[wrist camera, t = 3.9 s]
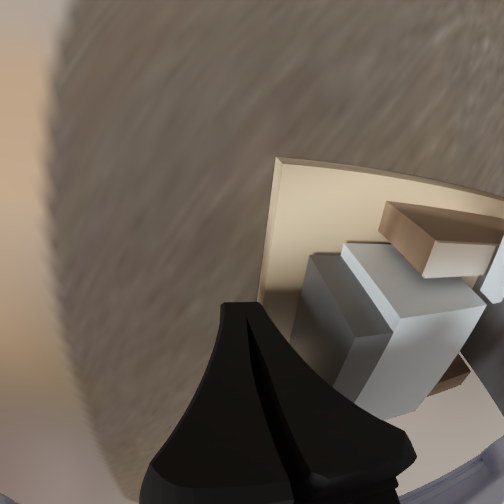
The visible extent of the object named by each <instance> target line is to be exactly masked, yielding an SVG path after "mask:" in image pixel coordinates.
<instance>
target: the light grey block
mask: <svg viewBox="0 0 504 504" xmlns="http://www.w3.org/2000/svg"><path fill="white" fill-rule="evenodd" d="M480 291H481V292H482V293H483V294H484V295H485V296H486V297H487V298H488V299H489V300H490V301H491V302H492V303H493V304H494V303H499V302H501V301H502V300H503V298H504V236H503V239H502V241H501V244H500V246H499V249H498V251H497V254H496V256H495V258H494V261H493V263H492V265H491V268H490V270H489V272H488V274H487V276H486V279H485V281H484V283H483V285H482V287H481V289H480ZM486 306H487V304H486V303H485V302H484V301H483V300H482V299H481V298H480V297H479V296H478V295H477V294H476V293H475V292H474V291H473V290H472V289H471V288H470V287H469V286H468V285H467V284H466V283H465V282H464V281H463V280H462V279H461V278H460V277H442V278H424V277H423V276H422V275H421V274H420V273H419V272H418V271H417V270H416V269H415V268H414V267H413V266H412V264H411V263H410V262H409V261H408V260H407V259H406V258H405V257H404V256H403V255H402V254H401V253H400V252H399V251H398V250H397V249H396V248H395V247H394V246H393V245H392V244H360V243H344V244H343V248H342V252H341V255H309V259H308V264H307V268H306V273H305V277H304V282H303V286H302V290H301V295H300V299H299V303H298V307H297V312H296V316H295V320H294V324H293V328H292V332H291V336H290V340H289V344H290V345H291V346H292V347H293V348H294V350H295V351H296V352H297V353H298V354H299V355H300V356H301V357H302V359H303V360H304V361H305V362H306V363H307V364H308V365H309V366H310V367H311V368H312V369H313V370H314V371H315V372H316V373H317V374H318V375H319V376H320V377H322V378H323V379H324V380H325V381H326V382H327V383H328V384H329V385H331V386H332V387H333V388H334V389H336V390H337V391H338V392H339V393H341V394H342V395H343V396H345V397H346V398H348V399H349V400H350V401H352V402H353V403H355V404H356V405H357V406H359V407H360V408H362V409H364V410H365V411H367V412H369V413H370V414H372V415H374V416H375V417H377V418H379V419H381V420H387V419H390V418H393V417H397V416H400V415H403V414H407V413H409V412H413V411H415V410H416V409H417V408H418V407H419V405H420V404H421V403H422V402H423V400H424V399H425V398H426V397H427V395H428V394H429V393H430V392H431V390H432V389H433V388H434V386H435V385H436V384H437V382H438V381H439V380H440V378H441V377H442V376H443V374H444V373H445V372H446V370H447V369H448V367H449V366H450V364H451V363H452V362H453V360H454V359H455V357H456V356H457V354H458V352H459V351H460V350H461V348H462V347H463V345H464V343H465V342H466V340H467V339H468V337H469V335H470V334H471V332H472V330H473V329H474V327H475V325H476V324H477V322H478V320H479V318H480V317H481V315H482V313H483V311H484V310H485V308H486Z"/></svg>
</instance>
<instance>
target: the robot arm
mask: <svg viewBox="0 0 504 504" xmlns="http://www.w3.org/2000/svg"><path fill="white" fill-rule="evenodd" d="M416 458H417V455H416V453H415V451H414V448H413V446H412V444H411V441H410V440H409V438H408V436H407V434H406V433H405V431H403V430H401V429H399V428H397V427H395V426H393V425H391V424H389V423H387V422H385V421H383V420H381V419H379V418H377V417H375V416H374V415H372V414H370V413H369V412H367V411H365V410H364V409H362V408H360V407H359V406H357V405H356V404H355V403H353V402H352V401H350V400H349V399H348V398H346V397H345V396H343V395H342V394H341V393H339V392H338V391H337V390H336V389H334V388H333V387H332V386H331V385H329V384H328V383H327V382H326V381H325V380H324V379H323V378H322V377H320V376H319V375H318V374H317V373H316V372H315V371H314V370H313V369H312V368H311V367H310V366H309V365H308V364H307V363H306V362H305V361H304V360H303V359H302V357H301V356H300V355H299V354H298V353H297V352H296V351H295V350H294V348H293V347H292V346H291V345H290V344H289V342H288V341H287V340H286V339H285V337H284V336H283V335H282V334H281V332H280V331H279V330H278V328H277V327H276V325H275V324H274V323H273V321H272V320H271V318H270V317H269V315H268V314H267V312H266V311H265V309H264V308H263V306H262V305H261V304H260V303H259V302H224V303H223V304H221V309H220V325H219V330H218V334H217V338H216V342H215V345H214V349H213V352H212V354H211V357H210V360H209V363H208V366H207V368H206V371H205V373H204V375H203V378H202V380H201V382H200V384H199V386H198V389H197V391H196V393H195V395H194V396H193V398H192V400H191V402H190V404H189V406H188V408H187V410H186V411H185V413H184V415H183V416H182V418H181V419H180V421H179V423H178V424H177V426H176V427H175V429H174V430H173V432H172V434H171V435H170V437H169V438H168V439H167V441H166V442H165V443H164V445H163V446H162V447H161V449H160V450H159V451H158V453H157V454H156V455H155V457H154V458H153V459H152V461H151V462H150V464H149V467H148V469H147V472H146V474H145V477H144V480H143V482H142V486H141V490H140V497H139V504H502V502H503V501H504V436H502V437H501V438H499V439H498V440H497V441H495V442H494V443H493V444H491V445H490V446H489V447H488V448H486V449H485V450H484V451H483V452H482V453H481V454H480V455H478V456H476V457H475V458H473V459H472V460H470V461H468V462H467V463H465V464H463V465H462V466H460V467H458V468H457V469H455V470H453V471H451V472H449V473H447V474H446V475H444V476H442V477H440V478H438V479H436V480H434V481H432V482H430V483H428V484H426V485H424V486H422V487H420V488H417V489H415V490H413V491H411V492H408V493H406V494H404V495H402V496H399V497H398V495H397V493H396V490H395V488H397V487H398V482H397V479H396V476H398V475H399V474H400V473H402V472H403V471H404V470H405V469H407V468H408V467H409V466H410V465H411V464H413V463H414V461H415V459H416ZM0 504H19V503H16V502H15V501H14V500H12V499H10V498H9V497H7V496H5V495H3V494H1V493H0Z"/></svg>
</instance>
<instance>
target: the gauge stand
mask: <svg viewBox="0 0 504 504" xmlns="http://www.w3.org/2000/svg"><path fill="white" fill-rule="evenodd" d="M503 236H504V197H501V196H498V195H494V194H490V193H487V192H483V191H479V190H475V189H471V188H467V187H463V186H459V185H455V184H451V183H446V182H442V181H437V180H433V179H428V178H423V177H418V176H413V175H408V174H402V173H397V172H391V171H385V170H379V169H373V168H367V167H360V166H354V165H346V164H339V163H331V162H323V161H314V160H305V159H296V158H285V157H276V159H275V167H274V175H273V183H272V191H271V199H270V207H269V215H268V222H267V230H266V238H265V245H264V253H263V260H262V268H261V275H260V282H259V290H258V297H257V302H259V303H260V304H261V305H262V306H263V308H264V309H265V311H266V312H267V314H268V315H269V317H270V318H271V320H272V321H273V323H274V324H275V325H276V327H277V328H278V330H279V331H280V332H281V334H282V335H283V336H284V337H285V339H286V340H287V341H288V342H289V340H290V336H291V332H292V328H293V324H294V320H295V316H296V312H297V307H298V303H299V299H300V295H301V290H302V286H303V282H304V277H305V273H306V268H307V264H308V259H309V255H341V252H342V248H343V244H344V243H360V244H392V245H393V246H394V247H395V248H396V249H397V250H398V251H399V252H400V253H401V254H402V255H403V256H404V257H405V258H406V259H407V260H408V261H409V262H410V263H411V264H412V266H413V267H414V268H415V269H416V270H417V271H418V272H419V273H420V274H421V275H422V276H423V277H424V278H442V277H460V278H461V279H462V280H463V281H464V282H465V283H466V284H467V285H468V286H469V287H470V288H471V289H472V290H473V291H474V292H475V293H476V294H477V295H478V296H479V297H480V298H481V299H482V300H483V301H484V302H485V303H486V304H487V306H486V308H485V310H484V311H483V313H482V315H481V317H480V318H479V320H478V322H477V324H476V325H475V327H474V329H473V330H472V332H471V334H470V335H469V337H468V339H467V340H466V342H465V343H464V345H463V347H462V348H461V350H460V352H461V353H462V355H463V356H464V358H465V359H466V360H467V362H468V363H469V364H470V366H471V367H472V369H473V370H474V371H475V373H476V374H477V376H478V377H479V379H480V380H481V382H482V383H483V385H484V386H485V388H486V389H487V391H488V392H489V394H490V395H491V397H492V399H493V400H494V402H495V403H496V405H497V406H498V408H499V410H500V411H501V413H502V414H503V416H504V298H503V300H502V301H501V302H499V303H494V304H493V303H492V302H491V301H490V300H489V299H488V298H487V297H486V296H485V295H484V294H483V293H482V292H481V291H480V289H481V287H482V285H483V283H484V281H485V279H486V276H487V274H488V272H489V270H490V268H491V265H492V263H493V261H494V258H495V256H496V254H497V251H498V249H499V246H500V244H501V241H502V239H503ZM470 372H471V371H470V369H469V368H468V367H467V365H466V364H465V362H464V361H463V360H462V358H461V357H460V355H459V354H457V356H456V357H455V359H454V360H453V362H452V363H451V364H450V366H449V367H448V369H447V370H446V372H445V373H444V374H443V376H442V377H441V378H440V380H439V381H438V382H437V384H436V385H435V386H434V388H433V389H432V390H431V392H430V393H429V394H428V395H427V397H428V396H431V395H434V394H437V393H440V392H442V391H445V390H448V389H450V388H453V387H456V386H458V385H461V383H462V382H463V381H464V380H465V378H466V377H467V376H468V374H469V373H470Z"/></svg>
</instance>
